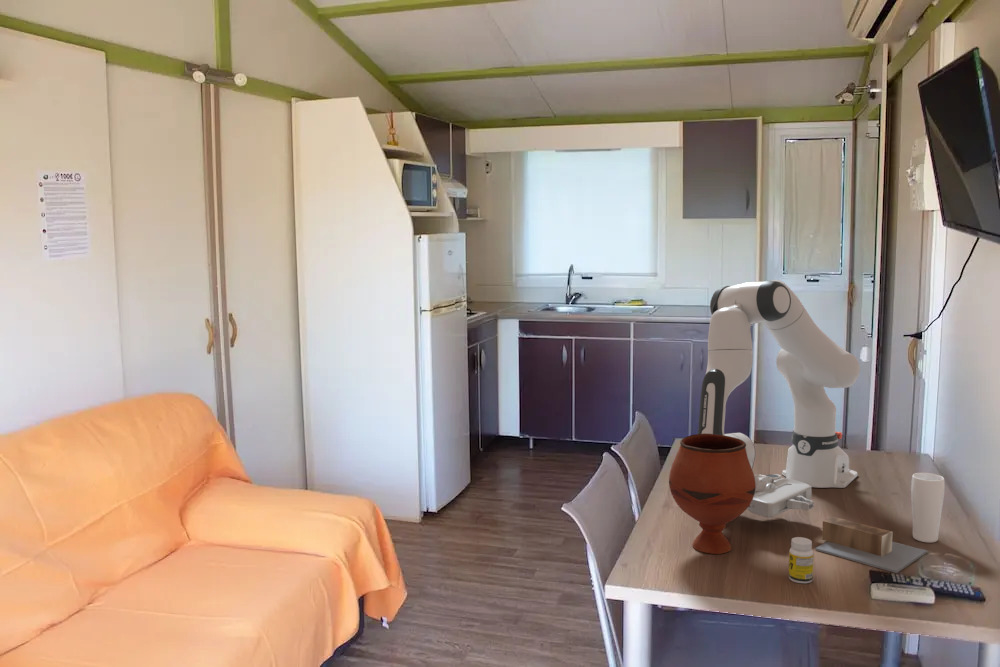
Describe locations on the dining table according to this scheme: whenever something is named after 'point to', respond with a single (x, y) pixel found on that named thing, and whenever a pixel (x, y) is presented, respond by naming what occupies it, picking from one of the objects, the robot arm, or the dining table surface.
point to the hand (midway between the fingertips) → (811, 506)
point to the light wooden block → (857, 536)
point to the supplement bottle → (801, 560)
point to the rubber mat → (890, 562)
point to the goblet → (712, 485)
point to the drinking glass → (926, 505)
